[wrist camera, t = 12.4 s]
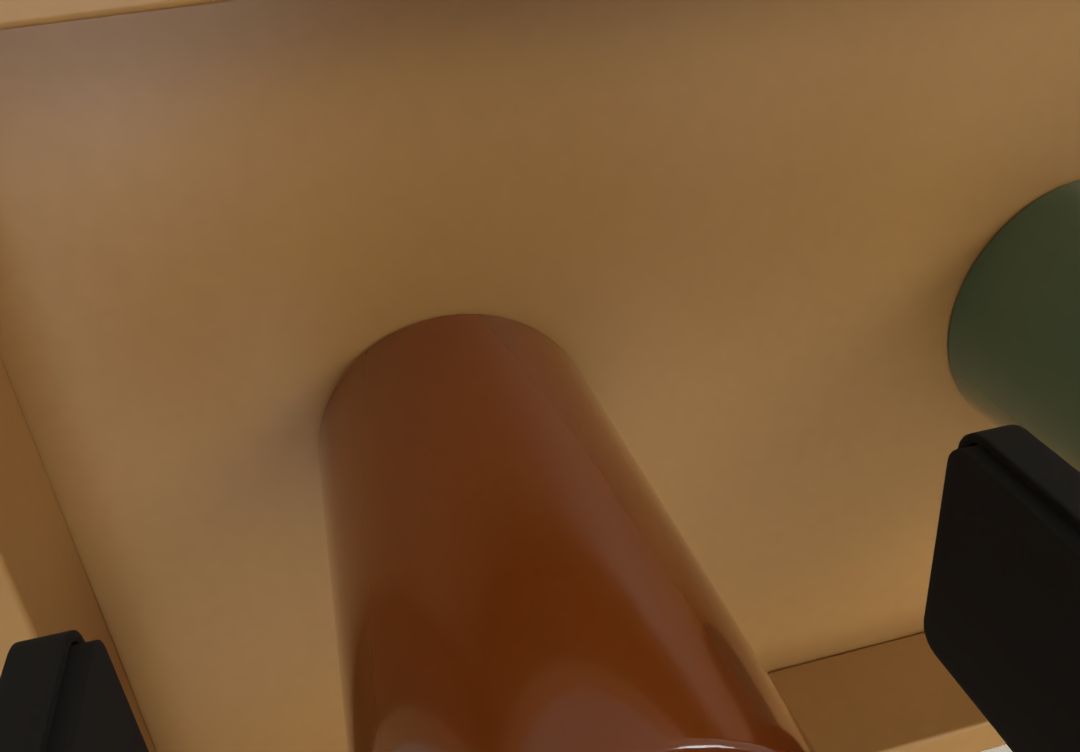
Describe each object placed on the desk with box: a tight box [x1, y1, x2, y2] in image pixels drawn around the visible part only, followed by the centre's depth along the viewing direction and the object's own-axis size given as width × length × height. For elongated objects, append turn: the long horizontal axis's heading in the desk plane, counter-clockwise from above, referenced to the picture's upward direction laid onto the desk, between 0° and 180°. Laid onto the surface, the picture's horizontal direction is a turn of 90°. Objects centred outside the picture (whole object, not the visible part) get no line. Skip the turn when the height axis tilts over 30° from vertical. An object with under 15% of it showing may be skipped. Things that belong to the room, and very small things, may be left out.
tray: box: [0, 0, 1080, 752], centre depth 16 cm, size 16×24×3 cm, turn 95°
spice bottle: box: [318, 314, 816, 752], centre depth 11 cm, size 4×4×11 cm
